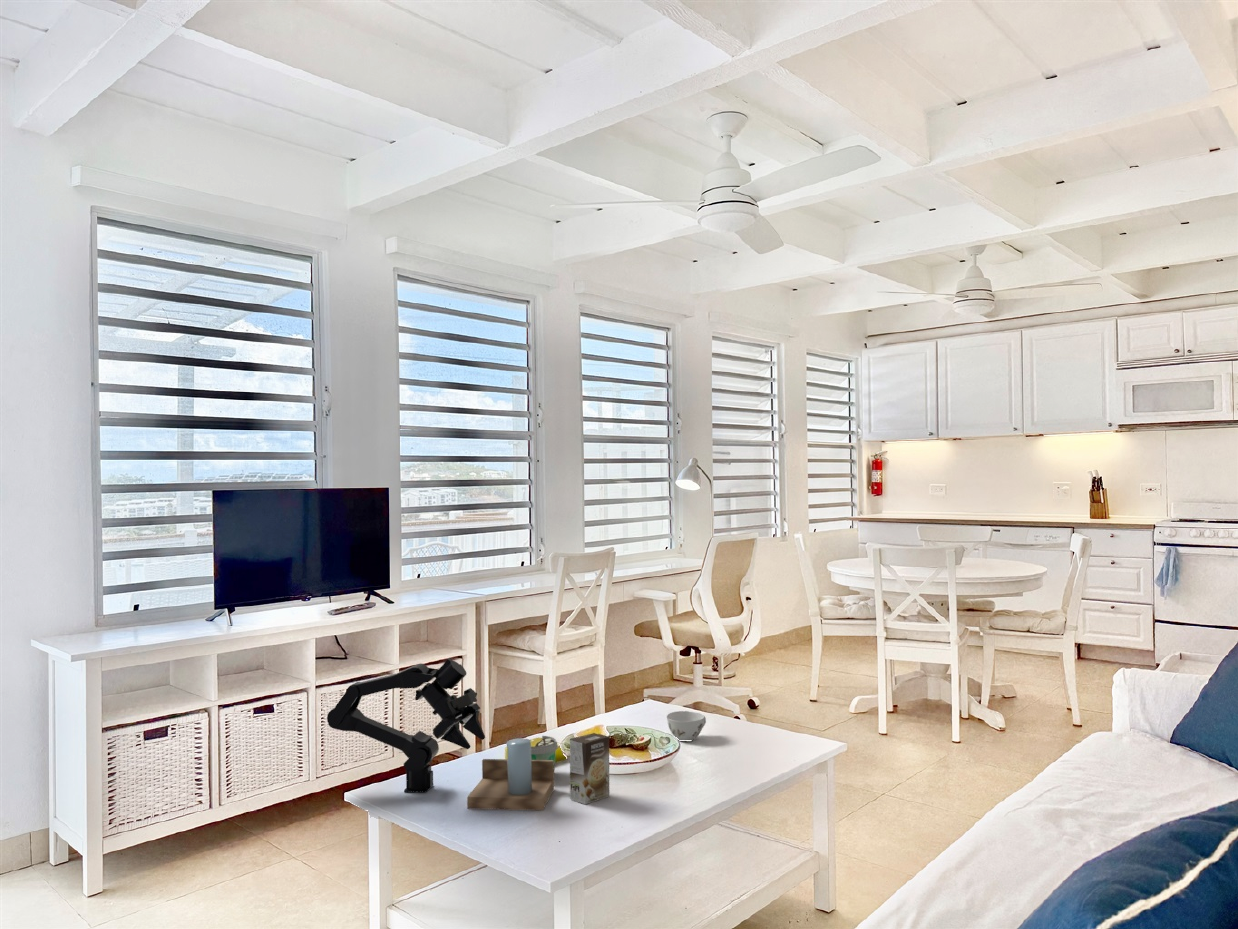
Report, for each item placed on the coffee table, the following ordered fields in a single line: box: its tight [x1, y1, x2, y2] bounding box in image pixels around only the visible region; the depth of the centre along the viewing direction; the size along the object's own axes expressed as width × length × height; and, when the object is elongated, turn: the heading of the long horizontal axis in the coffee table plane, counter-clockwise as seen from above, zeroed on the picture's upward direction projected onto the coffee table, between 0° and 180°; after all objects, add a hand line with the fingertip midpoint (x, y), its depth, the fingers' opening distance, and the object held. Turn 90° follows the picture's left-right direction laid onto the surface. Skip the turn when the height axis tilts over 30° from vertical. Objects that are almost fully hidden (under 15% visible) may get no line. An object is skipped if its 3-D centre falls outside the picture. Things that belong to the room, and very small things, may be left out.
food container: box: [531, 735, 558, 771], centre depth 248 cm, size 12×6×10 cm, turn 168°
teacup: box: [666, 710, 707, 741], centre depth 284 cm, size 15×12×8 cm
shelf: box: [466, 758, 555, 811], centre depth 230 cm, size 20×16×8 cm
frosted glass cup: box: [506, 737, 532, 795], centre depth 227 cm, size 6×6×13 cm
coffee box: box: [569, 732, 610, 805], centre depth 230 cm, size 9×6×16 cm
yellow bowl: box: [504, 737, 567, 764], centre depth 265 cm, size 15×15×5 cm
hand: (476, 743), depth 235 cm, fingers open, 9 cm apart
